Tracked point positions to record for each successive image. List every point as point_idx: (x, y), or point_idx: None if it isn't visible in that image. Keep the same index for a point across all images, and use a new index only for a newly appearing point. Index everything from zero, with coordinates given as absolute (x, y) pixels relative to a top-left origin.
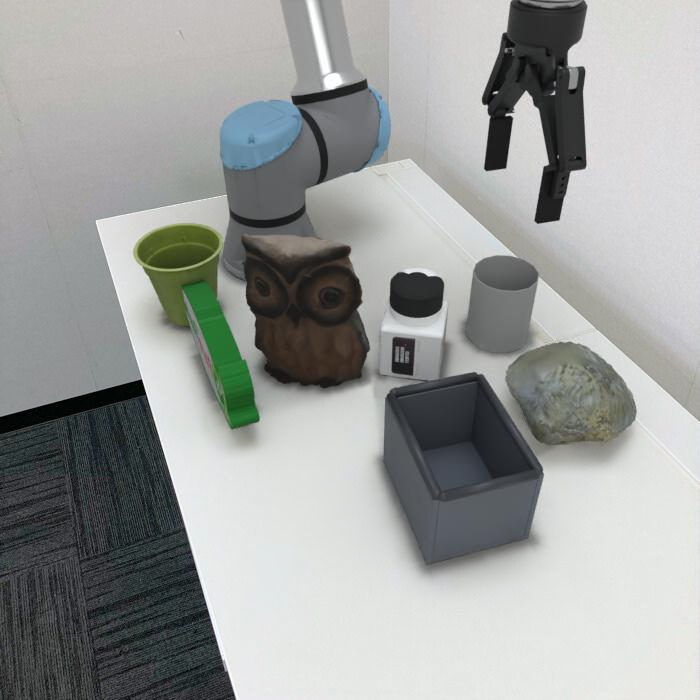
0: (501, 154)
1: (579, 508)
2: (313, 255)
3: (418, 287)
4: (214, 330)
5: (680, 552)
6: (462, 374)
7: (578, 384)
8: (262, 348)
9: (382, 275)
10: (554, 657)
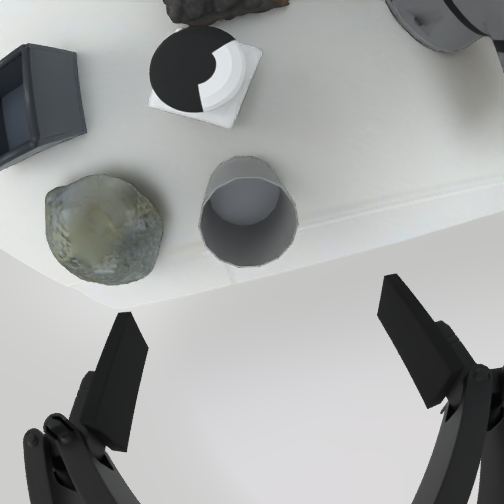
0: (394, 327)
1: (34, 205)
2: None
3: (167, 64)
4: None
5: (20, 254)
6: (32, 123)
7: (54, 244)
8: None
9: (382, 95)
10: None
